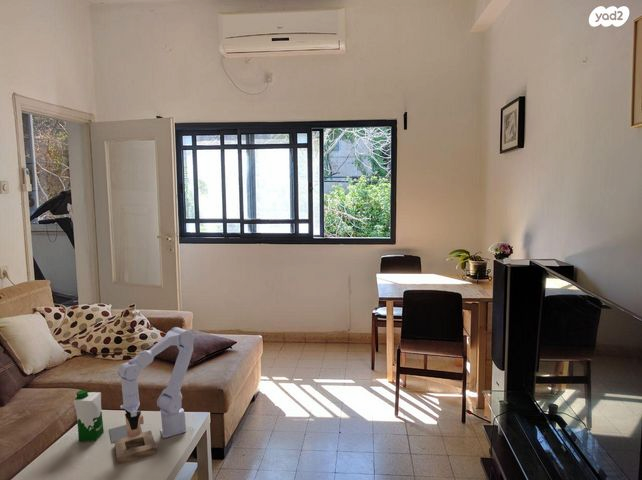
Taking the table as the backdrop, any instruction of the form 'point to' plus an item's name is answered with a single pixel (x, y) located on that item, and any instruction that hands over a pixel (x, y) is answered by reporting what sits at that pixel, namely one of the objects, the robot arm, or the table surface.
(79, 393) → the milk carton
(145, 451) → the block
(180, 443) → the table surface
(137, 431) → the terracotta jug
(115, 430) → the grey square plate
